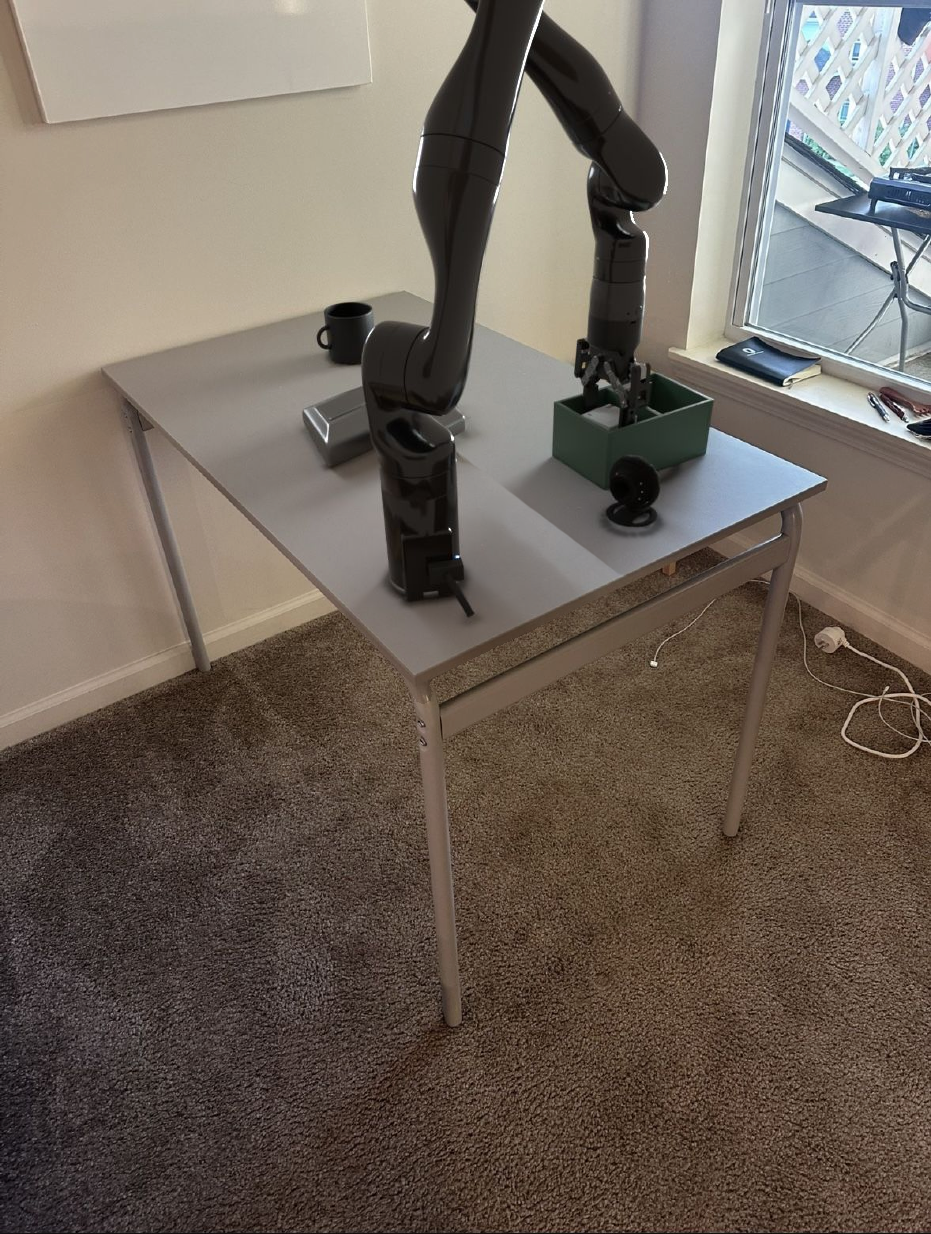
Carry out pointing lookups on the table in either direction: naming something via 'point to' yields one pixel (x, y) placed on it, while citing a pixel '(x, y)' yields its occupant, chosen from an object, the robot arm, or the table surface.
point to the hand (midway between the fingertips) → (607, 419)
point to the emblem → (352, 425)
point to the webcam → (633, 490)
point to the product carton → (605, 417)
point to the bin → (633, 430)
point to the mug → (346, 330)
